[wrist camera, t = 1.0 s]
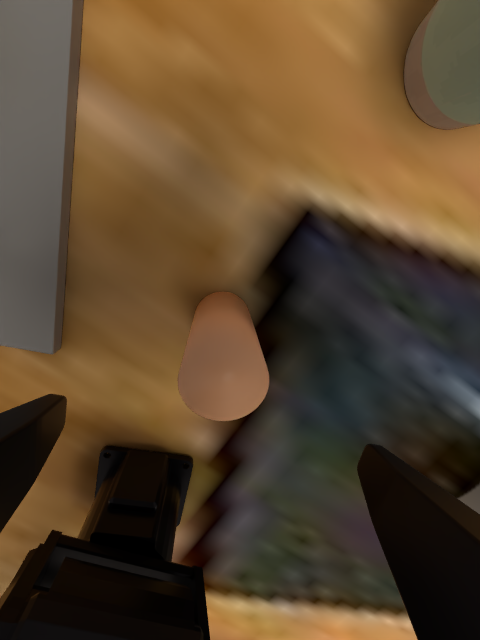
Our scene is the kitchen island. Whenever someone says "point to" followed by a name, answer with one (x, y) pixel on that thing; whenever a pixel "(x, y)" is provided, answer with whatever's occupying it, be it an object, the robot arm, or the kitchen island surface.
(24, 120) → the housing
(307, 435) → the kitchen island surface
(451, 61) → the coffee cup
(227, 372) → the brown peg
